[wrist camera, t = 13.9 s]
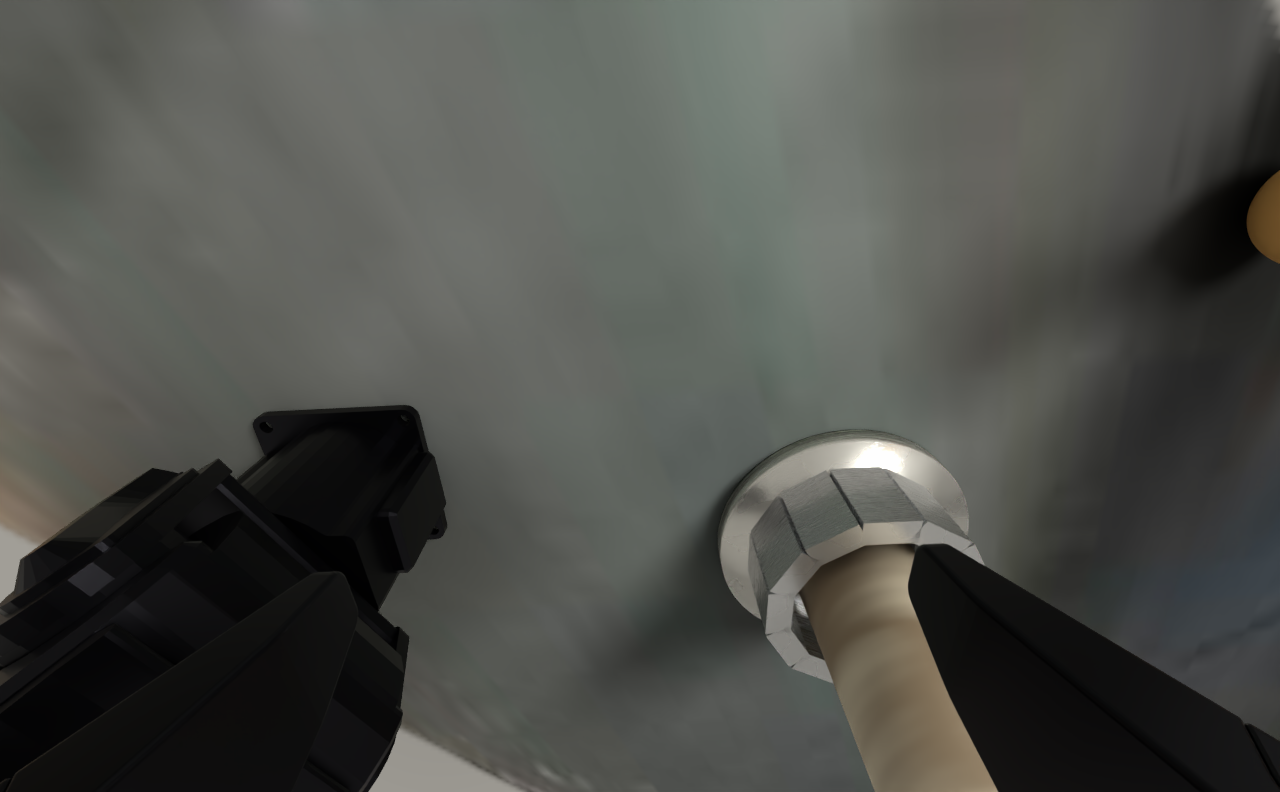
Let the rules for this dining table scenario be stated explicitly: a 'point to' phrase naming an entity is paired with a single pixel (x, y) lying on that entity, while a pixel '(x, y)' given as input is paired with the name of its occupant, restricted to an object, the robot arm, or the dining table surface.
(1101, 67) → the dining table surface
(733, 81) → the dining table surface
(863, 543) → the silver flanged nut
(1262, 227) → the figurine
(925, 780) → the birch plug
